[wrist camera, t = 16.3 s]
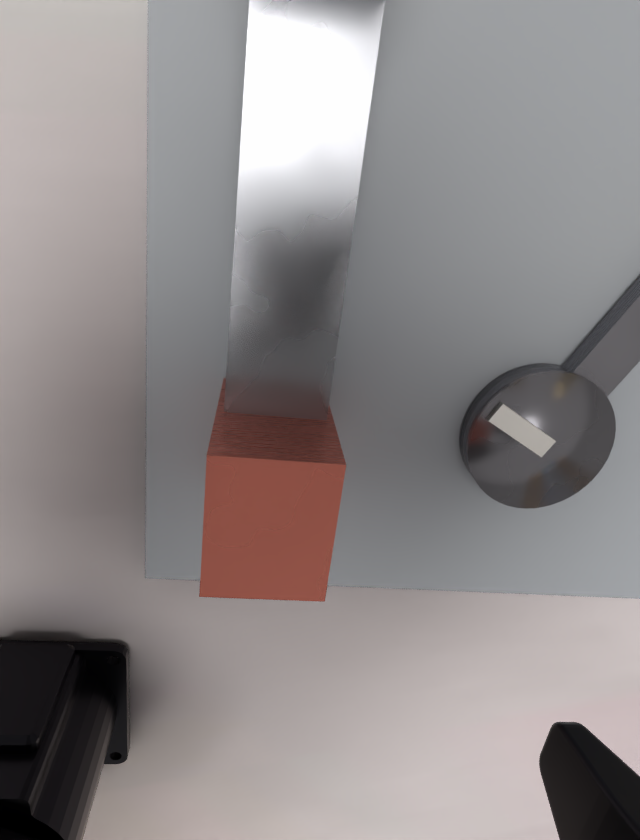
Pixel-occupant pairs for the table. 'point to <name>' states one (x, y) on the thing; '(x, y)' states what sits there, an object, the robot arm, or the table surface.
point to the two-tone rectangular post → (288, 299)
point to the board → (415, 281)
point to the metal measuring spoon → (552, 416)
